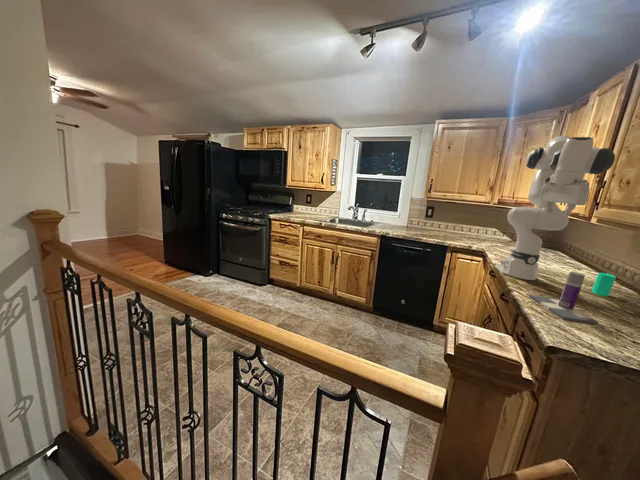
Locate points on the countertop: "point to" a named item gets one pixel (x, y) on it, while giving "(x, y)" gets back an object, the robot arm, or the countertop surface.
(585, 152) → the robot arm
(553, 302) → the letter board
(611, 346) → the countertop surface
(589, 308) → the countertop surface
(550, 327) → the countertop surface
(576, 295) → the container
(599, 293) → the candle
